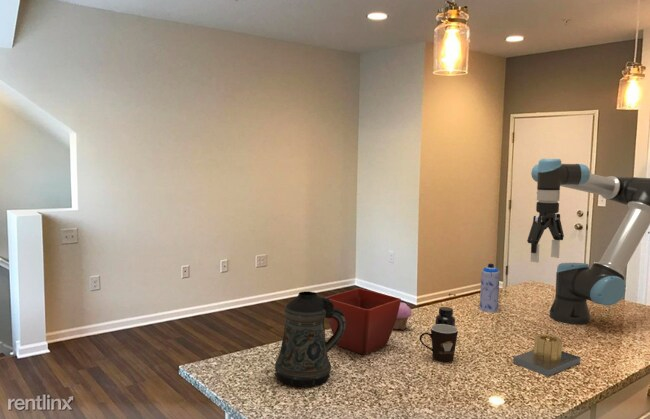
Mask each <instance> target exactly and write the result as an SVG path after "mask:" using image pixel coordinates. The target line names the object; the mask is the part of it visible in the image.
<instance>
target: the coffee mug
mask: <svg viewBox="0 0 650 419" xmlns="http://www.w3.org/2000/svg"><path fill="white" fill-rule="evenodd" d="M430 332H431V333H430ZM430 332H423V333H421V334H420V335H419V342H420V343H421V344H422V345H423V346H424V347H425V348H427V349H429V350H430V351H431V352H432V358H433V360H434V361H436V362H440V363H451V362H454V356H455V352H456V345H457V340H458V334H459V329H458V327H456V326H455V327H454V326H451V325H445V324H437V325H435V324H433V325H431V326H430ZM425 335H427V336H429V337H430V340H431V347H430V346H428V345H427V344H425V343H424V342H423V341H422V338H423V336H425Z"/></svg>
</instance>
